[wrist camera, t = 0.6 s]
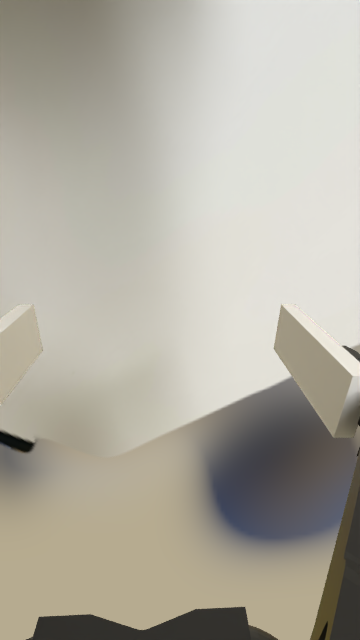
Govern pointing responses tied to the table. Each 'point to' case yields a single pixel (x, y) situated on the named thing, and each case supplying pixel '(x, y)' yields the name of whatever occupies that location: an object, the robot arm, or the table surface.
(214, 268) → the table surface
